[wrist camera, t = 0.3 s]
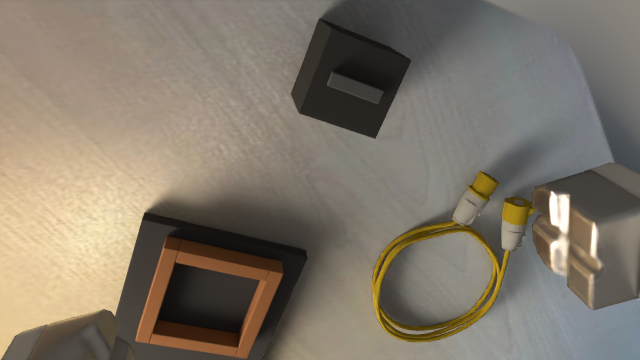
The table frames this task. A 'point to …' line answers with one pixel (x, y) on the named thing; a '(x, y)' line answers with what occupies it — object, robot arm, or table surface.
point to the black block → (348, 79)
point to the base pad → (204, 292)
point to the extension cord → (465, 213)
